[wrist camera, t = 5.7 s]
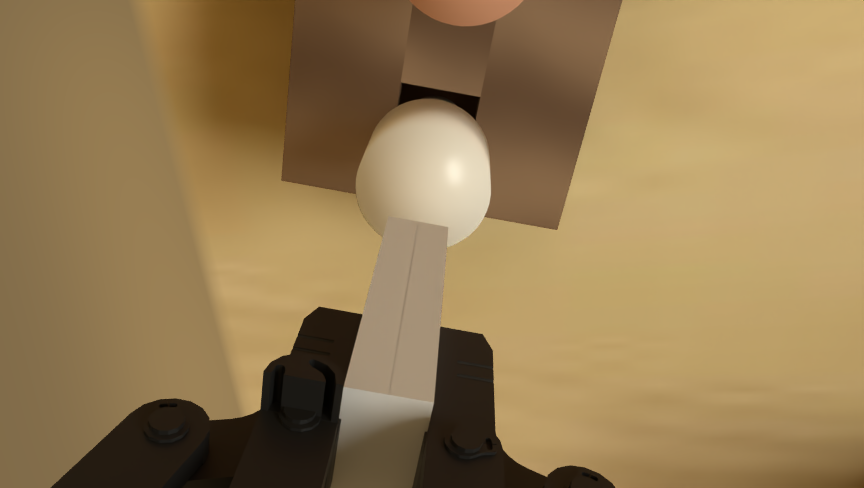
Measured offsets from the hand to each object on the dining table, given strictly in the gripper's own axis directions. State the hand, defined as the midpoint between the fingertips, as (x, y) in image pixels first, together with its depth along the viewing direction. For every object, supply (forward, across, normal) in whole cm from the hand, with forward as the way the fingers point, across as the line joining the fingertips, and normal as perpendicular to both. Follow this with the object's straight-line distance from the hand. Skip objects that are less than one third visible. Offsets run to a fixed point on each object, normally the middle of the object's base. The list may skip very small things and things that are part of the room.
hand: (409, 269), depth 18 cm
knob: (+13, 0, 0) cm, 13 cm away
